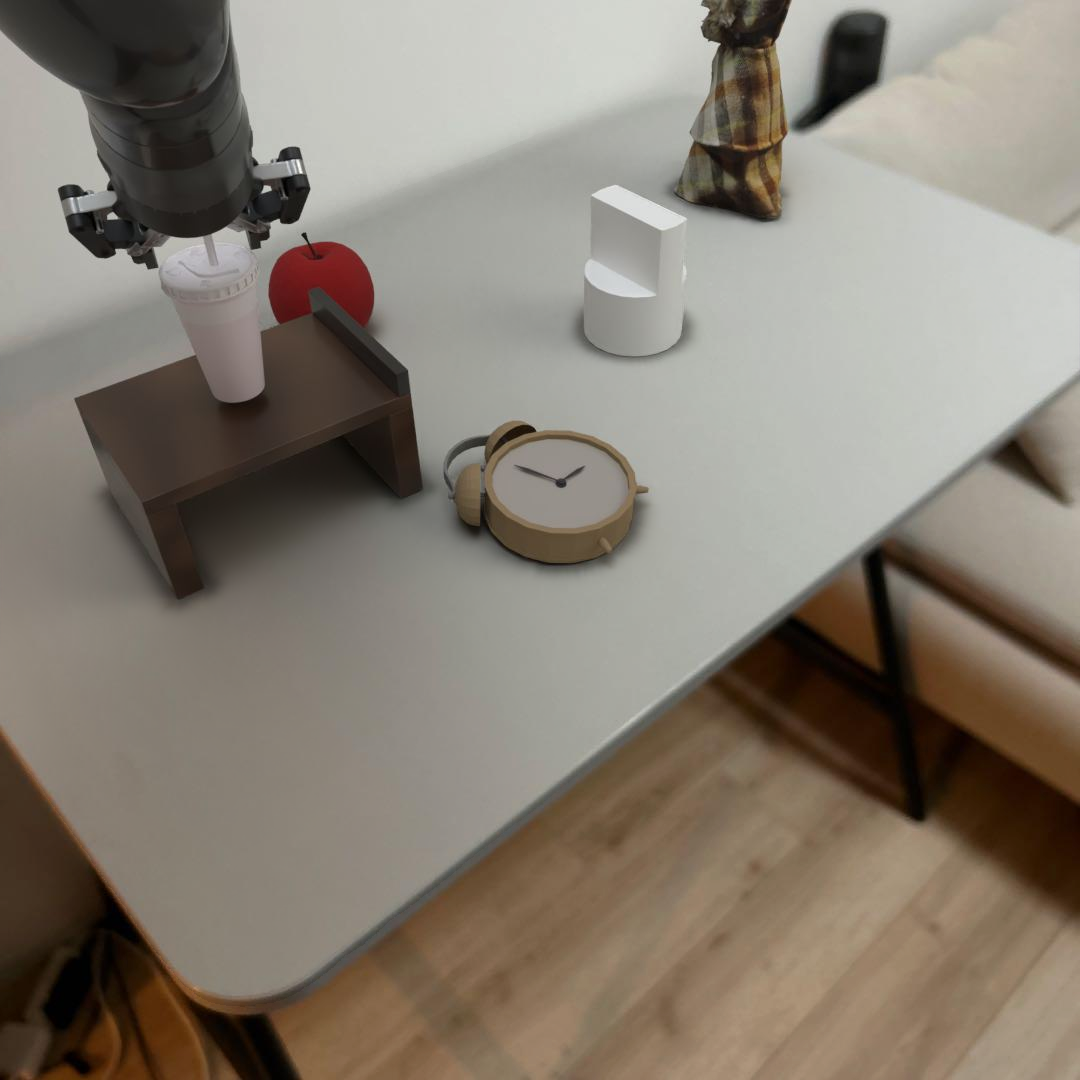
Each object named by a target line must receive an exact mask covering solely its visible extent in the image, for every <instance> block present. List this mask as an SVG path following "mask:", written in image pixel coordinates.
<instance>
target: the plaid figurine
mask: <svg viewBox="0 0 1080 1080" xmlns="http://www.w3.org/2000/svg"><path fill="white" fill-rule="evenodd" d="M792 1H793V0H701V3H700V7H703V8H707V9H708V12H707V15H706V16H705V18H704V19H703V20H701V21H700V22H701V23H702V24H701V26H699V27H700V30H701V35H702V37H703V38H705V39H706V40H707V43H710V42H713V43H717V44H718V46H717V49H716V50H715V54H714V56H713V58H712V60H711V71H710V73H711V79H710V80H711V81H710V86H709V92H708V95H707V97H706V99H705V101H704V103H703V105H702V106H701V108H700V110H699V112H698V114H697V116H696V117H695V119H694V122H693V124H692V125H691V128H690V130H689V132H688V133H689V135H690V136H691V138H692V139H693V141H692V144H691V147H690V148H689V153H688V155H687V157H686V159H685V161H684V162H685V163H684V166H683V168H682V172H681V173H680V176H679V179H678V181H677V184H676V186H675V188H674V189H673V191H674V193H675V194H676V195H677V196H678V197H681V198H683V199H684V200H686V201H687V202H690V203H696V204H701V205H705V206H709V207H717V208H721V209H729V210H732V211H735V212H739V213H743V214H745V215H746V214H747V215H750V216H753V217H757V218H758V217H759V218H760V219H769V218H778V217H779V215H780V214H781V213H782V196H781V193H780V192H779V189H780V182H781V178H782V167H783V141H784V140H785V138H786V137H787V135H788V134H789V126H788V121H787V113H786V106H785V101H784V100H785V99H784V94H783V88H782V80H781V79H782V78H781V67H780V60H779V57H778V52H777V43H776V41H777V40H778V38H779V37H780V36H781V35H780V34H781V31H782V29H783V26H784V25H785V22H786V19H787V16H788V13H789V10H790V7H791V4H792Z"/></svg>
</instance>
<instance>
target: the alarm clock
mask: <svg viewBox="0 0 1080 1080" xmlns="http://www.w3.org/2000/svg"><path fill="white" fill-rule="evenodd" d="M479 447H484V453H483V454H484V455H483V456H484V461H485V462H484V463H483V465H482V464H481V462H474V463H471V464H469V465H466V466H465V467H464V468H463V469H462V470H461V471H460V473H459V475H458V476H457V480H456V482H455V484H454V481H453V478H452V477H451V475H450V473H449V468H450V465H451V464H452V463H453V460H455V459H456V458H457V457H458V456H459V455H461V454H462V453H464V452H465V451H468V450H470V449H473V448H479ZM442 467H443V479H444V483H445V484H446V486H447V487H448V489H449V492H447V499H449V500H452V503H453V504H455V509H456V511H457V513H458V515H459V517H460V518H461V520H462V521H464V522H465V523H466V524H468V525H471V526H475V527H481V499H484V500H483V517H484V519H485V521H486V524H487V526H488V528H489V531H490V532H491V533H492V534H493V536H494V537H496V539H497V540H498V541H499V542H500V543H501V544H503V546H504V547H506V548H508V549H510V550H511V551H513V552H515V553H517V554H519V555H521V556H523V557H524V558H529V559H532V560H536V561H540V562H544V563H548V564H575V563H580V562H585V561H588V560H592V559H596V558H598V557H600V556H603V555H604V554H608V555H610V554H612V553H613V549H615V548H616V547H617V546H618V545H619V544H620V543H621V541H622V540H623V539H624V538H625V537H626V536H627V535H628V532H629V529H630V526H631V523H632V520H633V518H634V517H633V513H634V505H635V499H636V495H643V494H648V493H649V487H648V486H643V485H637V480H636V472H635V470H634V469H633V467H632V466H631V464H630V462H629V461H628V459H627V457H626V456H624V455H623V454H622V453H621V452H620V451H619V450H617V449H616V448H615V447H614V446H613V445H611V444H609V443H608V442H605V441H603V440H602V439H599V438H597V437H595V436H593V435H590V434H585V433H581V432H577V431H573V430H561V429H560V430H559V429H555V430H554V429H552V430H551V429H545V430H540V431H537V430H536V428H535V427H534V426H532V425H531V424H529V423H528V422H526V421H523V420H510V421H507V422H504V423H502V424H500V425H499V426H497V427H496V429H494V430H493V431H492V432H491V434H482V435H475V436H471V437H467V438H465V439H462V440H461V441H459V442H457V443H456V444H454V445H453V446H452V447H451V448H450V449H449V450H448V452H447V453H446V455H445V457H444V459H443V466H442ZM481 472H484V492H481V481H482V479H481V477H482V476H481V475H482V474H481Z"/></svg>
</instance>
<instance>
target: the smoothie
mask: <svg viewBox="0 0 1080 1080" xmlns="http://www.w3.org/2000/svg"><path fill="white" fill-rule="evenodd" d="M202 239H203V242H204V243H201V244H196V245H193V246H188V247H186V248H183V249H180V250H178V251H177V252H174V253H173V254H171V255H170V256H169V257H167V258H166V259H165V260H164V261H163V262H162V263H161V265H160V266H159V268H158V277H159V282H160V289H161V290H162V291H163V293H164V294H165V296H167V297H168V298H170V299H171V302H172V304H173V306H174V309H175V311H176V313H177V315H178V318H179V320H180V322H181V324H182V327H183V329H184V332H185V334H186V336H187V338H188V340H189V343H190V346H191V347H192V350H193V352H194V355H196V357H197V359H198V361H199V363H200V366H201V368H202V370H203V373H204V375H205V377H206V379H207V382H208V384H209V386H210V389H211V391H212V393H213V395H214V397H215V398H217V399H218V400H220V401H223V402H229V403H236V402H243V401H247V400H249V399H252V398H254V397H256V396H257V395H258V394H260V393H261V392H262V390H263V389H264V386H265V381H264V369H263V357H262V345H261V333H260V331H261V322H260V311H259V296H258V287H257V286H258V285H257V282H258V281H259V278H260V274H261V271H260V266H259V264H258V260H257V257H256V255H255V253H254V252H253V250H250V248H247V247H245V246H243V245H240V244H238V243H237V244H236V243H232V242H214V238H213V234H210V235H207V236H203V237H202Z"/></svg>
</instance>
